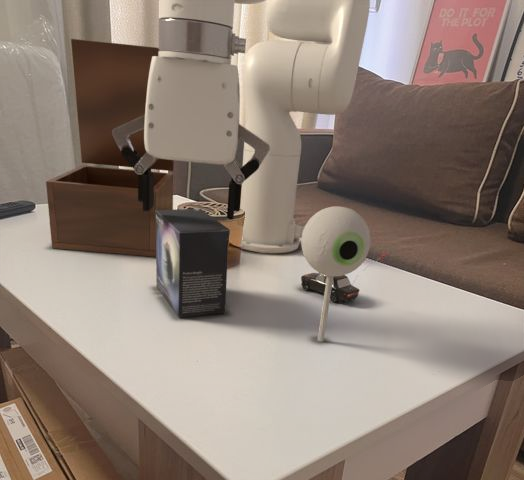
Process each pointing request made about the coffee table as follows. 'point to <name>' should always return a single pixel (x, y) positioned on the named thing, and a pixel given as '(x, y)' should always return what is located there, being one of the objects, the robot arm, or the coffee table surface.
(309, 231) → the lollipop
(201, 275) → the small box
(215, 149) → the robot arm
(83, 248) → the chest
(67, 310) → the coffee table surface
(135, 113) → the lid
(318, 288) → the toy car
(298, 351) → the coffee table surface
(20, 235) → the coffee table surface
